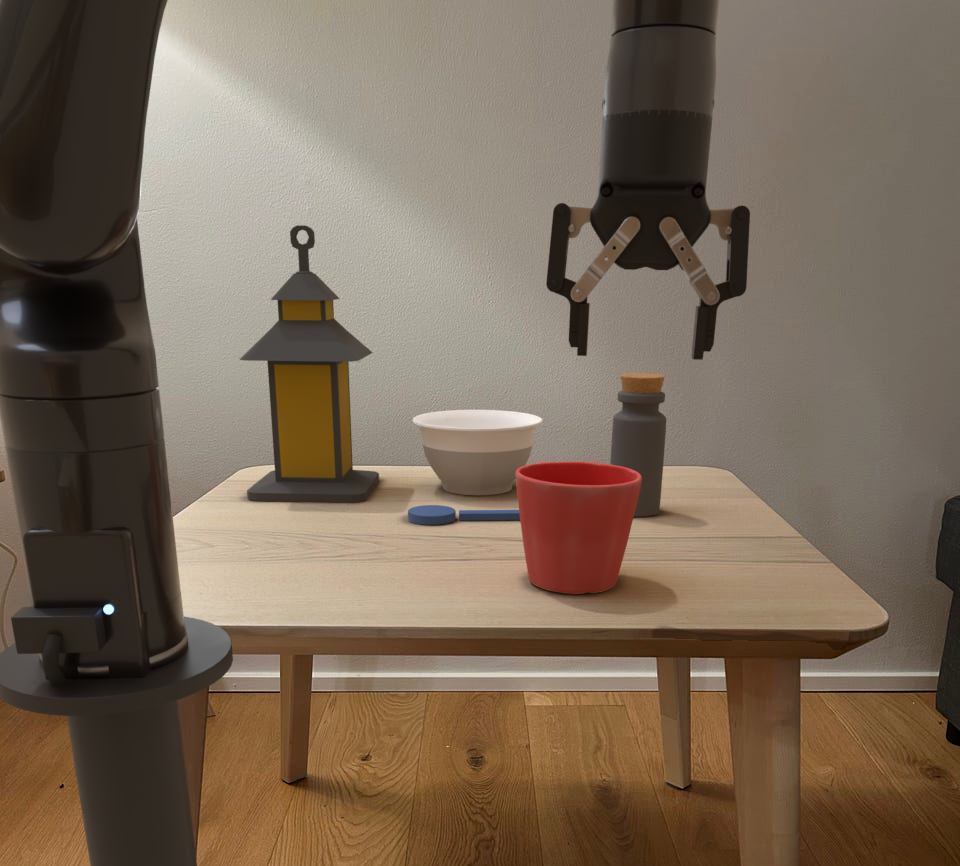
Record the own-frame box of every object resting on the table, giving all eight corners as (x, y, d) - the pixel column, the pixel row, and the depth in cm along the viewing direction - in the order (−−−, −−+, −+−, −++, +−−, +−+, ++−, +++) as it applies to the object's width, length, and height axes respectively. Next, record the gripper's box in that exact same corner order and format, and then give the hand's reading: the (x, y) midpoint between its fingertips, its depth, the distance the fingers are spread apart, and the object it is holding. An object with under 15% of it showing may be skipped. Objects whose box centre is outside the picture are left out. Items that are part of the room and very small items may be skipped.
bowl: (467, 508, 111) (467, 432, 108) (388, 485, 123) (386, 416, 119) (567, 490, 120) (570, 420, 117) (485, 470, 132) (486, 406, 129)
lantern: (273, 476, 127) (256, 227, 116) (380, 478, 126) (372, 228, 116) (244, 500, 114) (222, 222, 103) (363, 502, 113) (353, 223, 103)
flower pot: (620, 562, 91) (626, 459, 87) (646, 600, 81) (655, 484, 77) (507, 564, 90) (509, 459, 87) (519, 602, 80) (522, 485, 77)
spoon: (564, 512, 110) (564, 503, 109) (571, 523, 105) (571, 514, 104) (408, 513, 108) (407, 505, 108) (407, 525, 104) (407, 516, 103)
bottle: (651, 519, 107) (662, 379, 101) (600, 513, 109) (608, 376, 104) (665, 508, 112) (675, 374, 106) (616, 503, 114) (624, 371, 109)
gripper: (550, 104, 64) (541, 358, 70) (771, 104, 63) (742, 364, 68) (556, 121, 71) (547, 350, 77) (755, 121, 70) (730, 356, 75)
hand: (639, 357), depth 73 cm, fingers open, 8 cm apart
